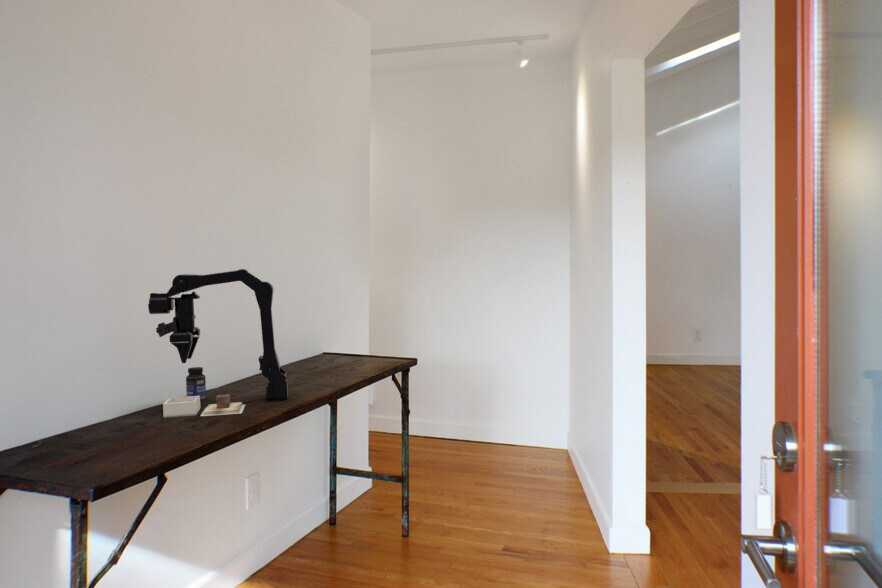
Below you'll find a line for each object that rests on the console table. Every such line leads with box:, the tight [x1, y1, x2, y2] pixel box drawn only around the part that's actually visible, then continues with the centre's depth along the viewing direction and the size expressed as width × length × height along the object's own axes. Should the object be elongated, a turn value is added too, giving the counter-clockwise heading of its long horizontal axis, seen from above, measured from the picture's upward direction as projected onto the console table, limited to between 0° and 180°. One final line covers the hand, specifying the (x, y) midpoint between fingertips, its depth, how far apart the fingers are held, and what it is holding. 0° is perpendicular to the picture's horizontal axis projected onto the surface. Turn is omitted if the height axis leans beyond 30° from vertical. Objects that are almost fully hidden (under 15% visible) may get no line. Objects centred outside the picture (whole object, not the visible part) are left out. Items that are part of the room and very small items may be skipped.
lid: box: [203, 393, 243, 416], centre depth 191 cm, size 10×10×4 cm
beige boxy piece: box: [162, 395, 201, 418], centre depth 189 cm, size 9×9×4 cm
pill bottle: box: [185, 366, 207, 402], centre depth 207 cm, size 6×6×11 cm
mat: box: [200, 403, 246, 417], centre depth 191 cm, size 12×12×1 cm
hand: (186, 360), depth 200 cm, fingers open, 9 cm apart
